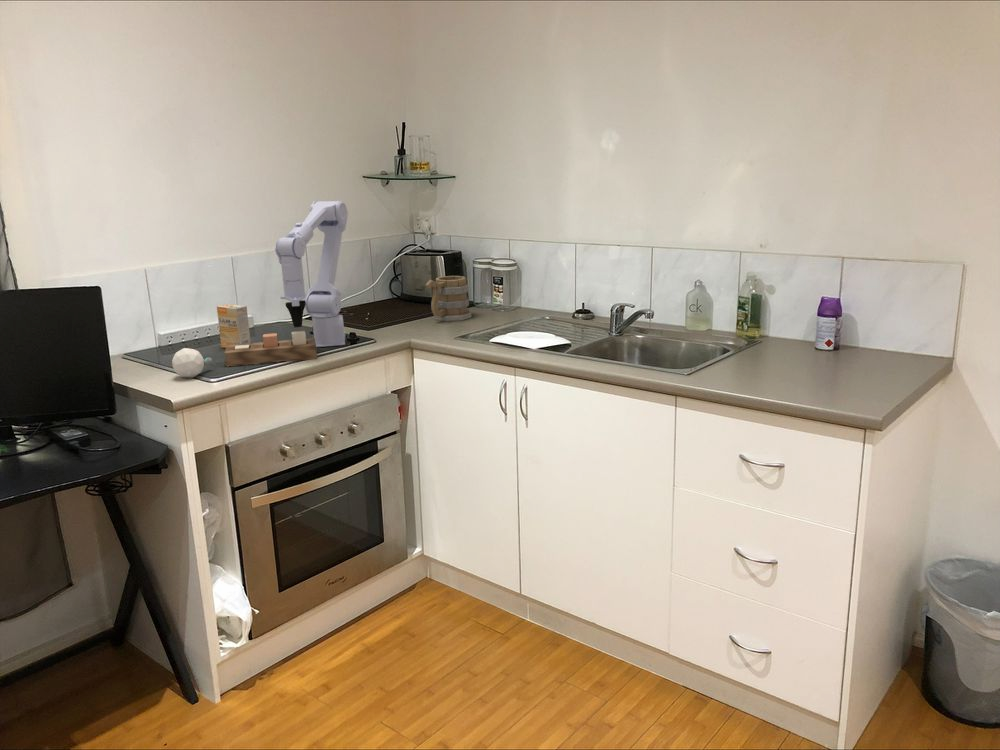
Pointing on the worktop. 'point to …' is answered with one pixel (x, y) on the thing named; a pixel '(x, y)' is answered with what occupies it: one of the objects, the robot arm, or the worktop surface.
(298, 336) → the cream cap
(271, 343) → the salmon pink cube
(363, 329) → the worktop surface
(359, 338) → the worktop surface
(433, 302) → the tankard
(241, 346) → the cream cap
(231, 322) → the supplement box
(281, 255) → the robot arm
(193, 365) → the faceted white ball
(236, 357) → the brown wooden rack
